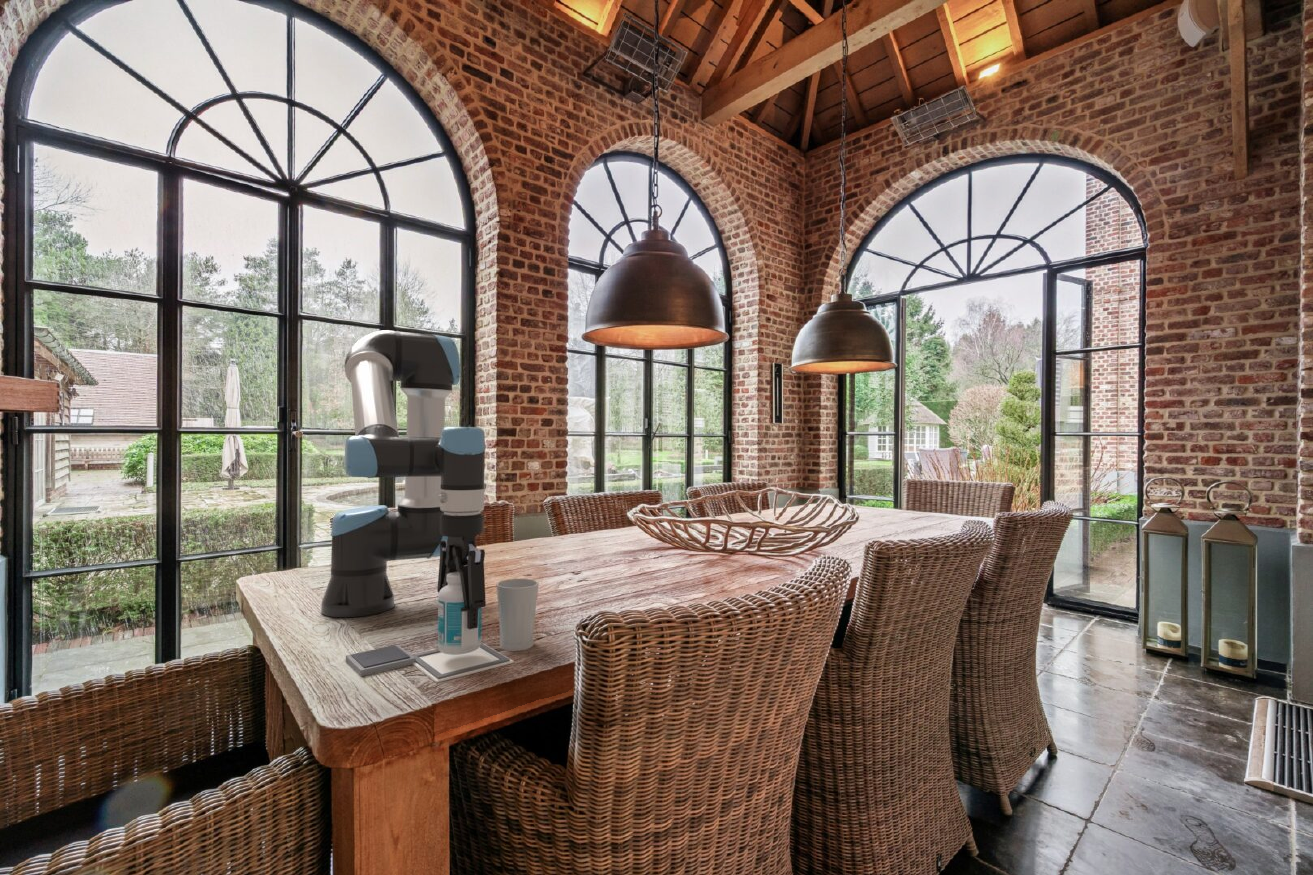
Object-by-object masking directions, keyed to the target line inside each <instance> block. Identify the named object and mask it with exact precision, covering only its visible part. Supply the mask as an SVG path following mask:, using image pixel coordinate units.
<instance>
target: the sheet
mask: <svg viewBox="0 0 1313 875" xmlns="http://www.w3.org/2000/svg"><path fill="white" fill-rule="evenodd" d="M411 655H412V656H414V657H415V658H416V662H413V664H412V665H413V666H414V667H416V668H417V669H418V670H419V671H420V672H422V673H423V674H424V675H426V676H427V677H428V678H429V679H431V680H432V681H434V683H436V684H438V683H441V682H446V681H448V680H449V681H450V680H453V679H457V678H461V677H464V676H468V675H473V674H476V673H479V672H480V673H481V672H484V671H487V670H491V669H496V668H499V667H503V666H506V665H507V666H508V665H510V664H513V663H514V662H515V661H514V660H513V659H511V658H509V657H507V656H506V655H504V654H503V653H501V652H498V651H497V650H495V649H494V648H492V647H491V646H488V645H487V644H485V643H483V642H481V645H480V647H479V648H478V649H477V650H475V651H473V652H470V653H466V654H459V655H450V654H444V653H442V652H440V651H439V649H438V648H437V649H433V650H428V651H423V652H418V653H415V654H411ZM514 664H515V663H514Z"/></svg>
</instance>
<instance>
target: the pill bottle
mask: <svg viewBox="0 0 1313 875" xmlns="http://www.w3.org/2000/svg"><path fill="white" fill-rule="evenodd" d="M446 581H447V583H448V585H447V586H445V587H443V588H442V589H441V590H440V591H439V593H438V597H437V598H438V599H437V600H438V601H437V602H438V603H437V649H439V651H440V652H442V653H444V654H450V655H459V654H466V653H470V652H473V651H475V650H477V649H478V648H479V647H480V645H481V643H482V607H481V608H479V612H478V645H476V646H471V647H467V648H462V647H461V637H462V611H461V608H463V607H465V606H464V599H463V592H462V585H461V578H460V573H459V572H452V573H449V574H447V580H446Z"/></svg>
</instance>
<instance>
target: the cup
mask: <svg viewBox="0 0 1313 875" xmlns="http://www.w3.org/2000/svg"><path fill="white" fill-rule="evenodd" d="M539 584H540V583H539V581H538V580H536V579H531V578H510V579H509V578H508V579H504V580H500V581H498V582H497V583H496V593H497V594H496V595H497V607H498V608H497V609H498V610H497V611H498V623H499V624H498V625H499V648H500V649H501V650H505V651H509V652H510V651H511V652H512V651H513V652H517V651H524V650H528V649H530V648H532V647H533V646H534V632H535V630H534V629H535V621H536V620H535V619H536V608H537V600H538V593H539V586H540V585H539Z"/></svg>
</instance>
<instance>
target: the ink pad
mask: <svg viewBox="0 0 1313 875" xmlns="http://www.w3.org/2000/svg"><path fill="white" fill-rule="evenodd" d="M412 655H413V654H411V653H409V651H407V650H405V649H404V648H403V647H402V646H400V645H399V644H394V645H390V646H385V647H381V648H375V649H370V650H366V651H361V652H357V653H356V652H355V653H352V654H346V655H345V662H346V663H347V665H349V666H350V667H351V668H352V669H353V670H354V671H355V673H357V674H358V675H359V676H360V677H363V676H368V675H372V674H377V673H381V672H386V671H389V670H394V669H398V668H403V667H407V666H412V665H413V662H416V658H415V657H414V656H412Z"/></svg>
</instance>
